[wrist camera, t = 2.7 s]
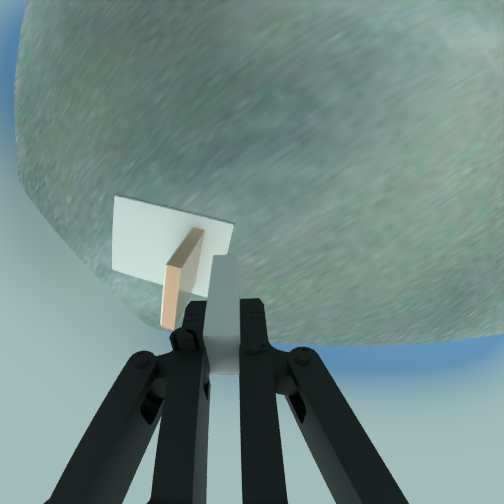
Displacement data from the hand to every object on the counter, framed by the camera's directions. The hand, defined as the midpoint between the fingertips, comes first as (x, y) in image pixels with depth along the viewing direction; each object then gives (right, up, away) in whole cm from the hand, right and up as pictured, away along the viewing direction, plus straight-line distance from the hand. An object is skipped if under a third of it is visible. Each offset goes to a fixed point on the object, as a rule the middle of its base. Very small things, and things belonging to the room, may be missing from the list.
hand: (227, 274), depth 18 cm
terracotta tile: (-8, 0, +28) cm, 29 cm away
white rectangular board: (-12, +2, +29) cm, 31 cm away
